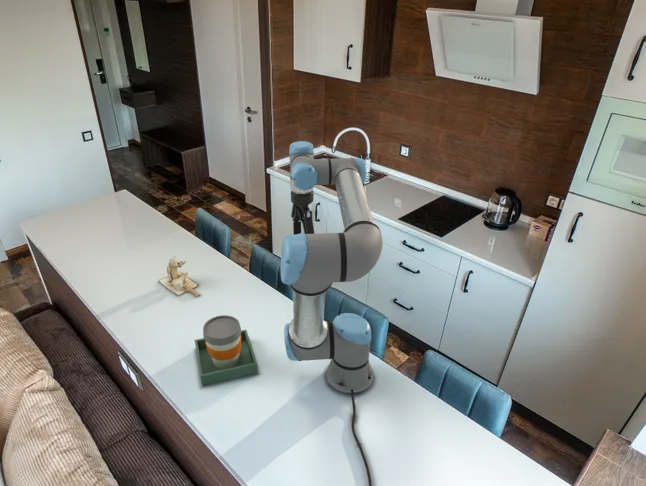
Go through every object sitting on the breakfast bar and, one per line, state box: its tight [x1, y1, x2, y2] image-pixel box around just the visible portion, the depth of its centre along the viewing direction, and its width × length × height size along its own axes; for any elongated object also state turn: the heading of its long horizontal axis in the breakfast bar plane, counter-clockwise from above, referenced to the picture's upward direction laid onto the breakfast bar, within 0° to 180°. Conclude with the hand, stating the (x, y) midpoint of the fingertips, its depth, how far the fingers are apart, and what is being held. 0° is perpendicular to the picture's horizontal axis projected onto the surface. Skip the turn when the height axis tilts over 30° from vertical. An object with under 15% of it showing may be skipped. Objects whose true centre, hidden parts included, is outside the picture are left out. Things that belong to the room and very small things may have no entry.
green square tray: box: [194, 329, 259, 387], centre depth 156 cm, size 19×19×5 cm
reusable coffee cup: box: [202, 314, 242, 369], centre depth 153 cm, size 12×12×15 cm
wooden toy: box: [159, 255, 200, 297], centre depth 192 cm, size 22×10×14 cm, turn 44°
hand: (302, 247), depth 160 cm, fingers open, 13 cm apart
